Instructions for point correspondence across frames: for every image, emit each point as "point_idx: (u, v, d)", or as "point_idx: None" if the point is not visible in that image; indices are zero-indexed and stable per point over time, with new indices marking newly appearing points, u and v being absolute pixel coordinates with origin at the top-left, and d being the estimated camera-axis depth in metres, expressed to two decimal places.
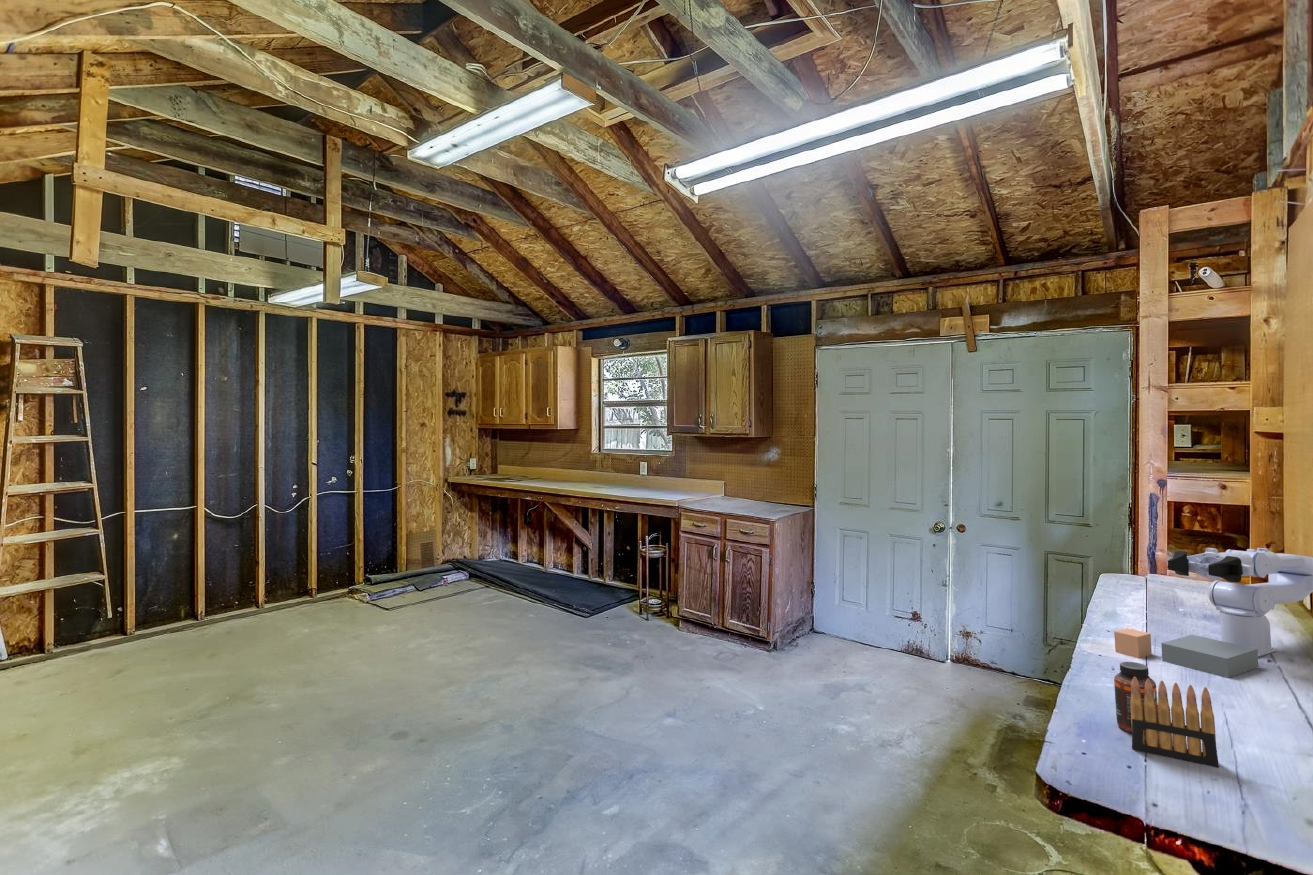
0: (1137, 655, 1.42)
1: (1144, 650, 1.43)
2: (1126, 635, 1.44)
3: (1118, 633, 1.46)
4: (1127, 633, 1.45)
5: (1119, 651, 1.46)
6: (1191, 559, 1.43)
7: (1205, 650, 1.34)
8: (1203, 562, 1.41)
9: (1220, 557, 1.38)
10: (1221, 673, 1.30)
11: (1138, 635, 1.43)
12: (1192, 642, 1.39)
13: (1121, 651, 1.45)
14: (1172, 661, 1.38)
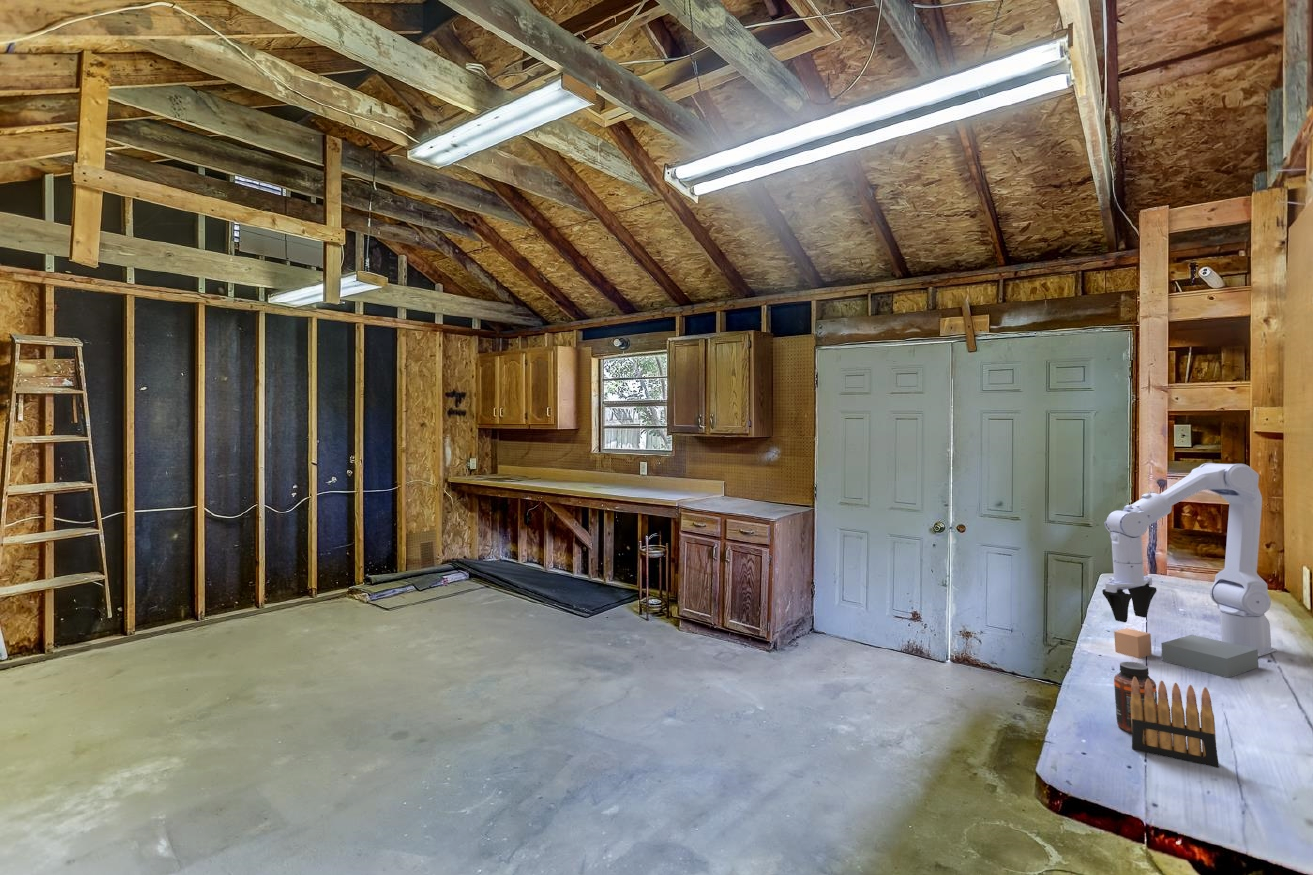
0: (1137, 655, 1.42)
1: (1144, 650, 1.43)
2: (1126, 635, 1.44)
3: (1118, 633, 1.46)
4: (1127, 633, 1.45)
5: (1119, 651, 1.46)
6: None
7: (1205, 650, 1.34)
8: None
9: None
10: (1221, 673, 1.30)
11: (1138, 635, 1.43)
12: (1192, 642, 1.39)
13: (1121, 651, 1.45)
14: (1172, 661, 1.38)
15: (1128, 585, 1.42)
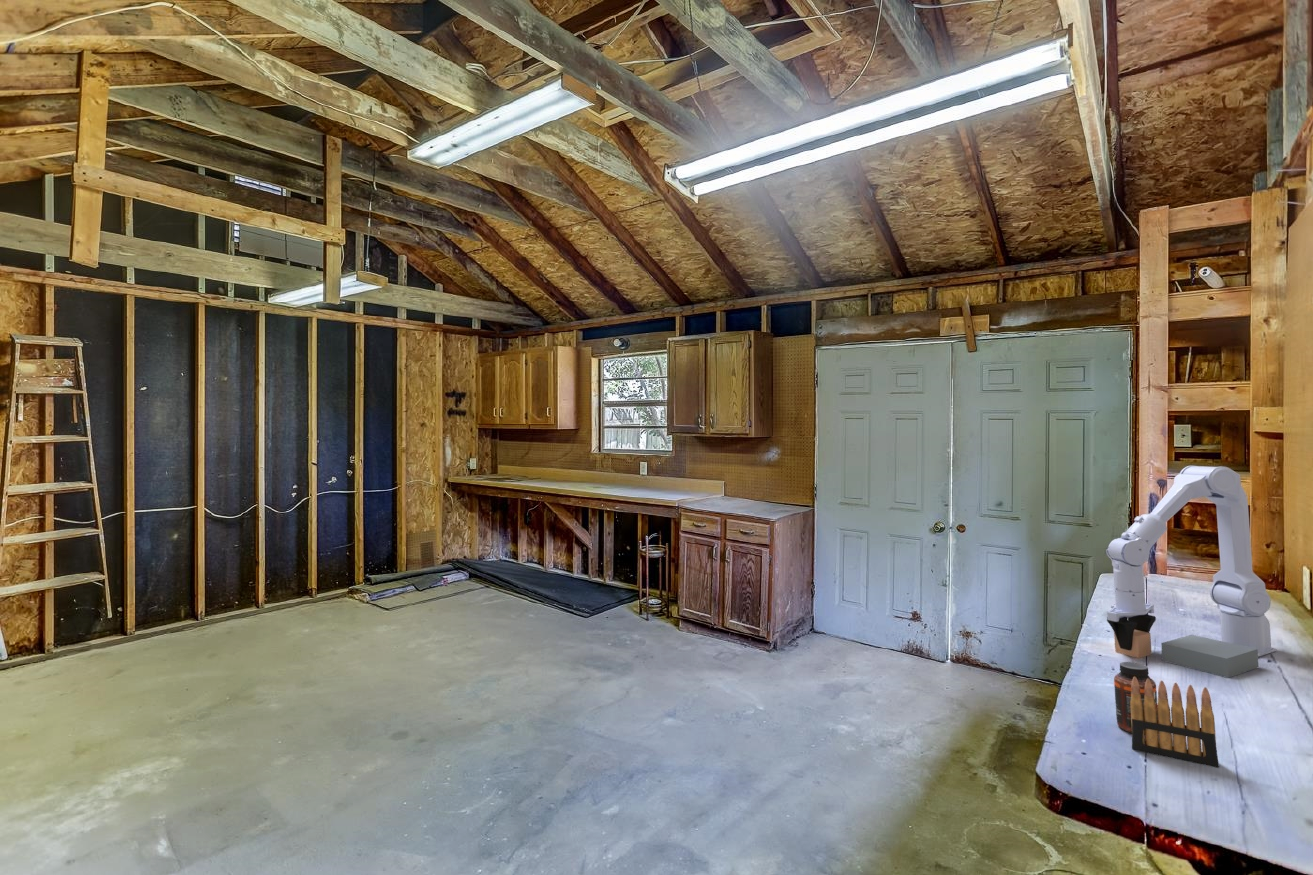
0: (1137, 655, 1.42)
1: (1144, 649, 1.43)
2: None
3: None
4: None
5: (1119, 651, 1.46)
6: None
7: (1205, 650, 1.34)
8: None
9: None
10: (1221, 673, 1.30)
11: (1138, 635, 1.43)
12: (1192, 642, 1.39)
13: (1121, 651, 1.45)
14: (1172, 661, 1.38)
15: (1130, 614, 1.42)
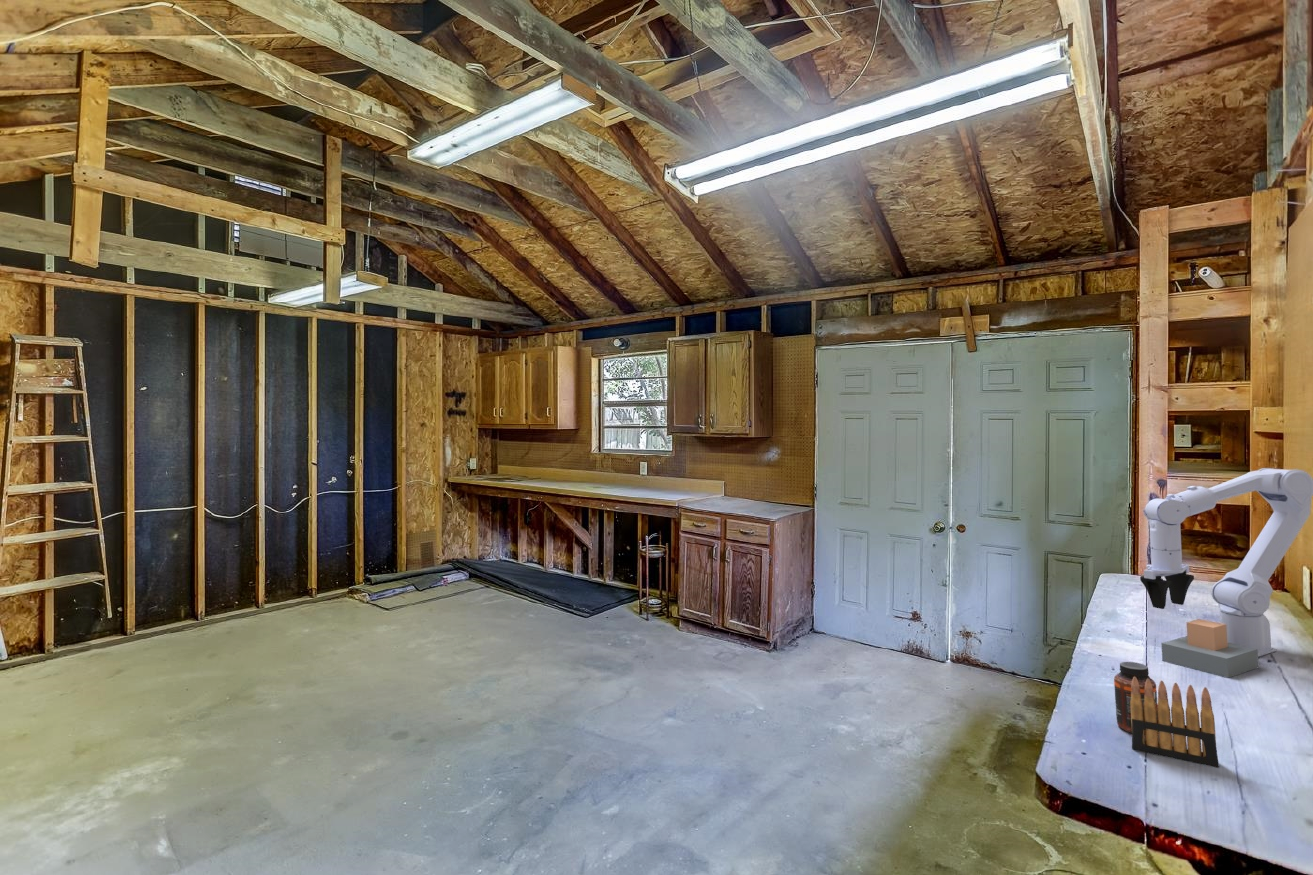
0: (1213, 647, 1.34)
1: (1220, 642, 1.34)
2: (1200, 626, 1.36)
3: (1191, 624, 1.37)
4: (1201, 624, 1.36)
5: (1192, 643, 1.37)
6: None
7: (1205, 650, 1.34)
8: None
9: None
10: (1221, 673, 1.30)
11: (1214, 626, 1.34)
12: None
13: (1194, 643, 1.37)
14: (1172, 661, 1.38)
15: (1167, 572, 1.44)
